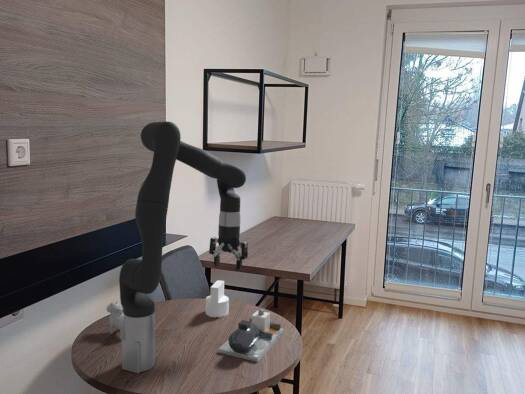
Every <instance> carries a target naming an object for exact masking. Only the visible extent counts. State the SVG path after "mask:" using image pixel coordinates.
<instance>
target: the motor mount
mask: <svg viewBox="0 0 525 394" xmlns="http://www.w3.org/2000/svg"><path fill="white" fill-rule="evenodd" d="M237 324H238V328H236V329H235V330H234V331H233V332H232V333H231V334H230V335H229V337H228V339H227V340H226V341H225V342H224V343H223V344H222V345H220V346H219V348H218V354H223V355H227V356H232V357H236V358H240V359H245V360H247V361H252V362H256V363H258V362H259V361H260V360H261V359H262V358H263V357H264V355H266V353H267V352H268V351H269V350H270V349H271V348H272V347H273V346H274V344H275V343H276V342H277V341H278V340H279V339H278V338H280V337H281V336H283V334H284V331H285V330H284V328H282V324H281V323H277V322H273V321H270V329H269V330H268V331H262V330H258V328H257V326H256V325H255V324H253V323H252V317H250V318H249V321H248V320H246V319H245V320H244V319H242V320H241V321H239V322H238V323H237Z"/></svg>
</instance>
